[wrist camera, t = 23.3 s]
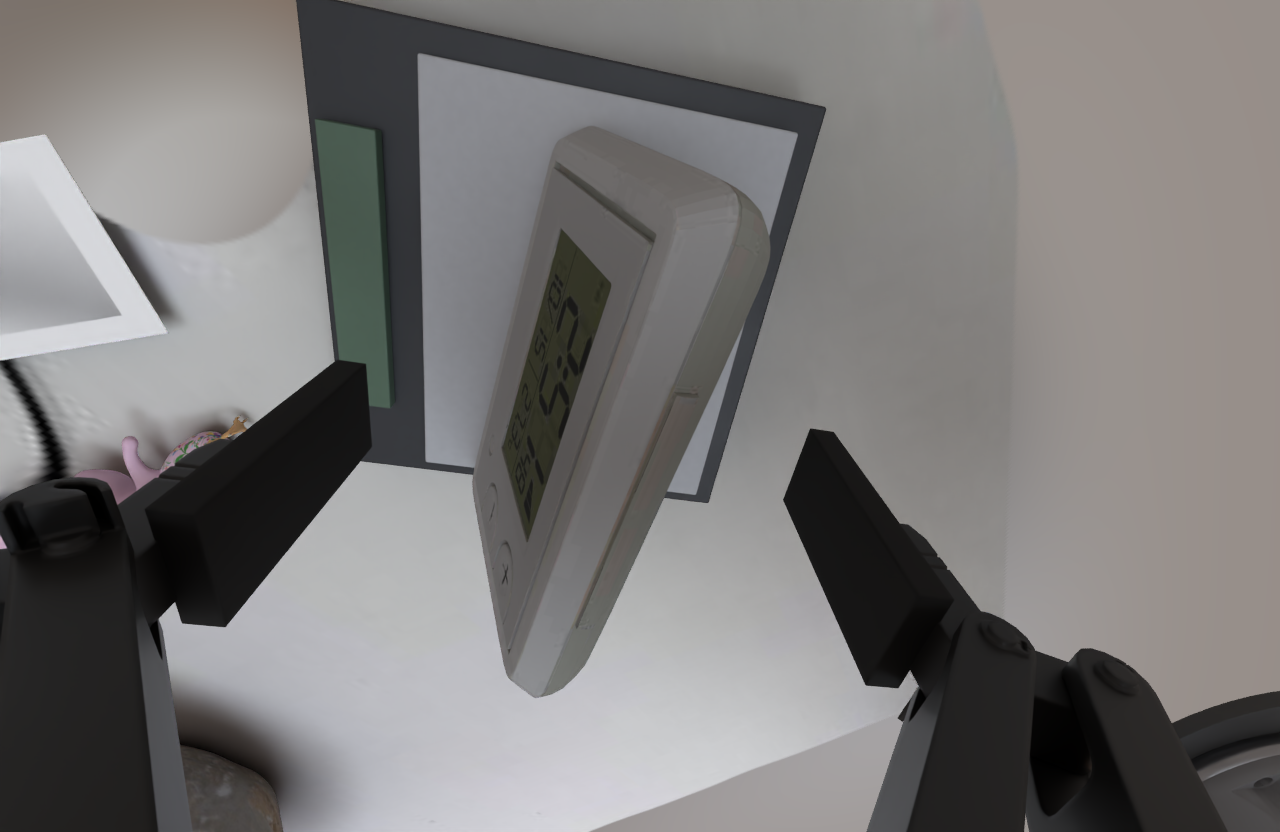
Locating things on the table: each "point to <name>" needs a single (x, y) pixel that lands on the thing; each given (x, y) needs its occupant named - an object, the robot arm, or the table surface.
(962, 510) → the table surface
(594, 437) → the digital clock
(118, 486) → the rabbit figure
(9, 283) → the touchpad
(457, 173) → the scale
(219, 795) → the ceramic bowl
